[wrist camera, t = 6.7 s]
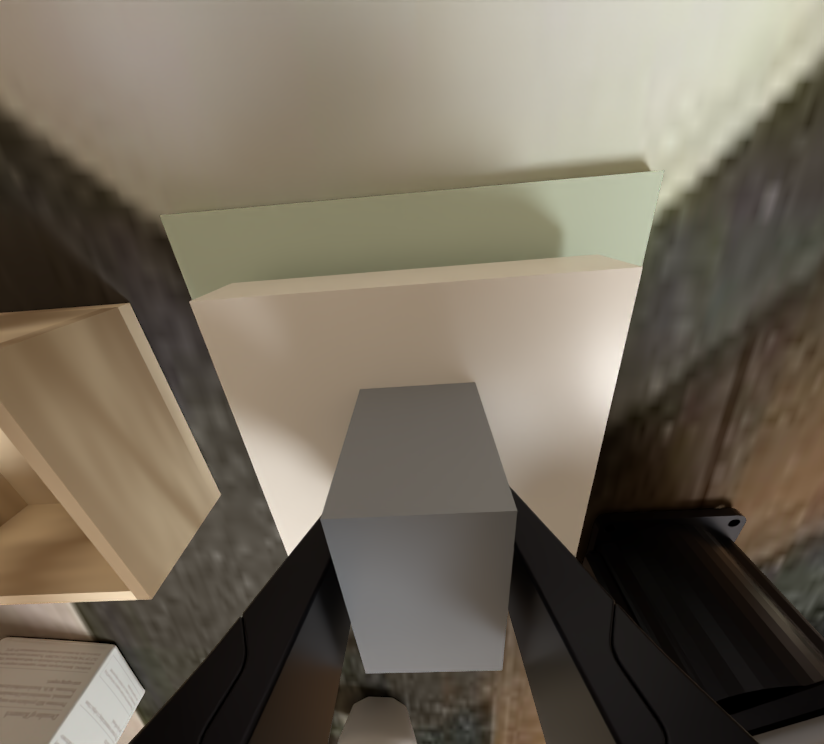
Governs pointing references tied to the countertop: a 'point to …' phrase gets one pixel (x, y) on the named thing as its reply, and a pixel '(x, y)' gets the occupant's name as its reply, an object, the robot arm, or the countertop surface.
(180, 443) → the box
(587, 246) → the mat
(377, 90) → the countertop surface
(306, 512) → the lid
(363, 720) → the salt shaker
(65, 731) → the supplement box
